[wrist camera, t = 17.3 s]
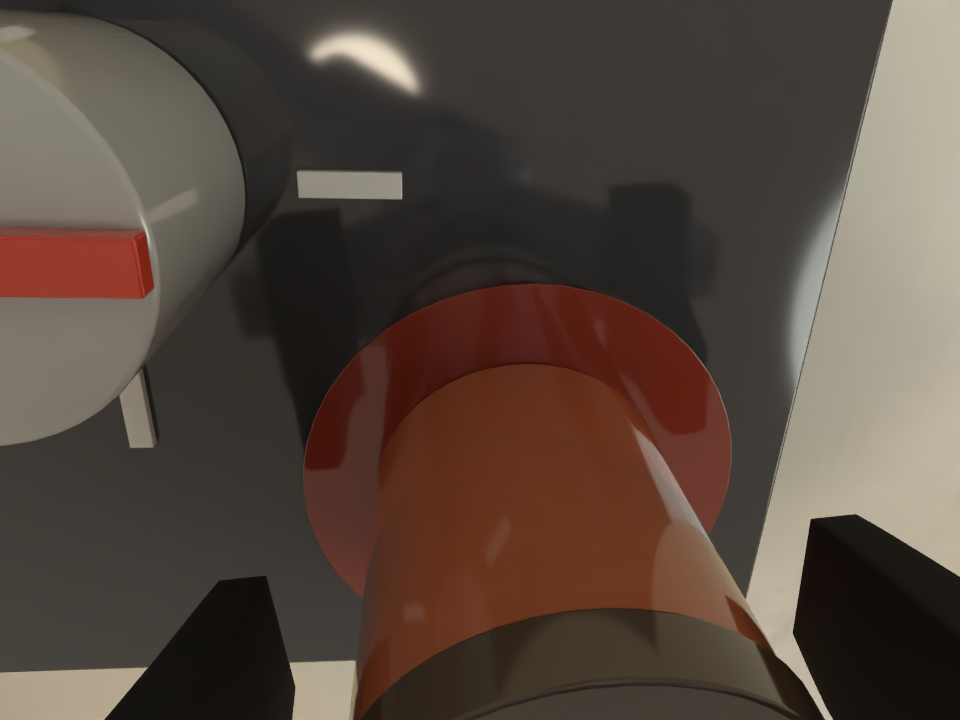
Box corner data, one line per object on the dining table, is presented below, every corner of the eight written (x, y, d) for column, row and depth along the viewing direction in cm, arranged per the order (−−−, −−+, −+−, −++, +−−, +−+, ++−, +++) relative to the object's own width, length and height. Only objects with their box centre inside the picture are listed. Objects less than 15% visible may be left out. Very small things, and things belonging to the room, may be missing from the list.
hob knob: (-28, 318, 10) (-263, 468, 7) (-116, 5, 8) (-493, -13, 5) (260, 321, 10) (176, 464, 7) (229, 19, 9) (101, 11, 5)
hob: (-232, -175, 9) (-407, -230, 7) (844, -121, 10) (941, -156, 8) (17, 596, 15) (-46, 682, 13) (700, 578, 16) (738, 655, 14)
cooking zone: (285, 280, 10) (284, 282, 10) (767, 283, 11) (770, 285, 11) (318, 647, 13) (317, 652, 13) (693, 635, 14) (695, 639, 14)
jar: (305, 495, 12) (200, 898, 6) (531, 292, 10) (645, 576, 5) (510, 645, 13) (566, 1064, 8) (723, 487, 12) (961, 855, 7)
